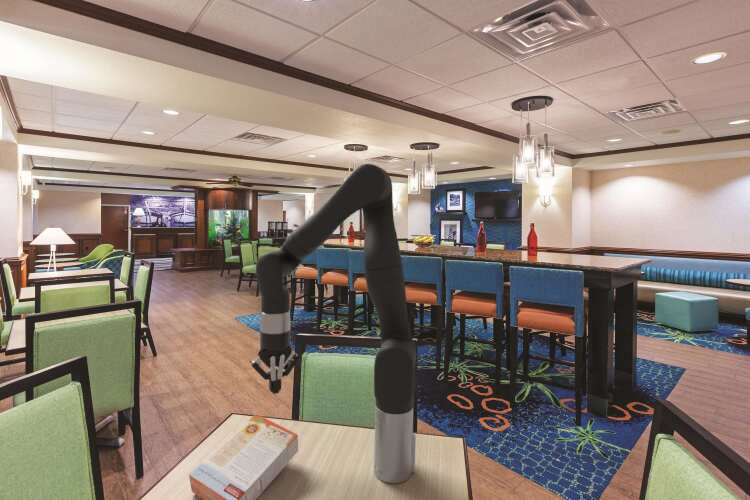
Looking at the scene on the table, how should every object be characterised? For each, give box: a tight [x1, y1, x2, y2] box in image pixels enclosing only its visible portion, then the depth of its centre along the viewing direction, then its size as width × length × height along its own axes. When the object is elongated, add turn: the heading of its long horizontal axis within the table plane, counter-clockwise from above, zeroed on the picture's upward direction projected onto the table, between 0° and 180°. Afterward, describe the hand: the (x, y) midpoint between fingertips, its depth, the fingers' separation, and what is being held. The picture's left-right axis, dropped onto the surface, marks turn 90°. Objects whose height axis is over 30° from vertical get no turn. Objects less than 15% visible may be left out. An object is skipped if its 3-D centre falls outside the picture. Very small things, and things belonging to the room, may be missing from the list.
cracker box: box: [188, 413, 299, 500], centre depth 91 cm, size 14×6×21 cm
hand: (275, 392), depth 102 cm, fingers closed
